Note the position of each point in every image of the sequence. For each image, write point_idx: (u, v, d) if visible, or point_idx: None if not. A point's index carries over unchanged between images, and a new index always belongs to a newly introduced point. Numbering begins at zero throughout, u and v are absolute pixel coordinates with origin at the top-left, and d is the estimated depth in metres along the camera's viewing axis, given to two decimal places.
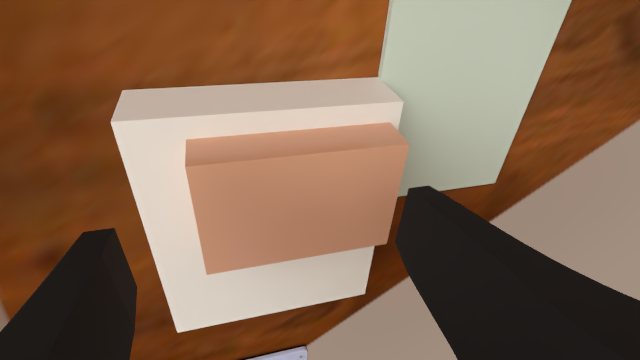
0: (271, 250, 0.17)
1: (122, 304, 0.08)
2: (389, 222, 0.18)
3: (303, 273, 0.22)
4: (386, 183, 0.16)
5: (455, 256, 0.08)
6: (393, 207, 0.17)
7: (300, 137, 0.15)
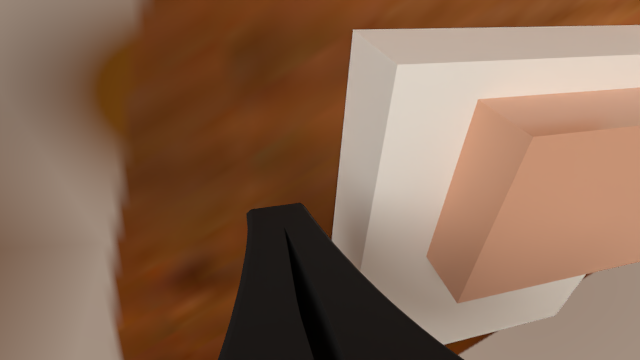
0: (546, 267, 0.12)
1: None
2: None
3: (509, 292, 0.16)
4: None
5: (300, 286, 0.07)
6: None
7: (635, 99, 0.10)
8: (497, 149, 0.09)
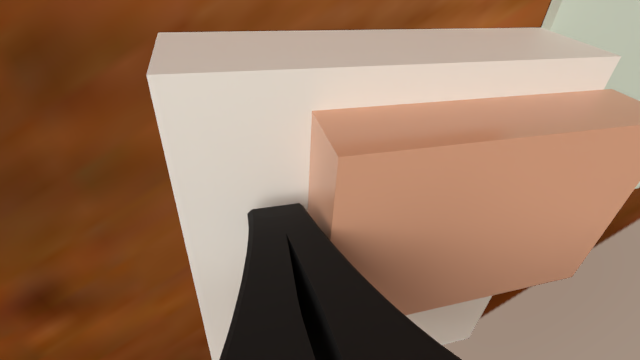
0: (422, 294, 0.11)
1: None
2: (590, 246, 0.12)
3: None
4: (618, 187, 0.10)
5: (299, 286, 0.07)
6: (607, 224, 0.11)
7: (499, 109, 0.09)
8: (324, 168, 0.08)
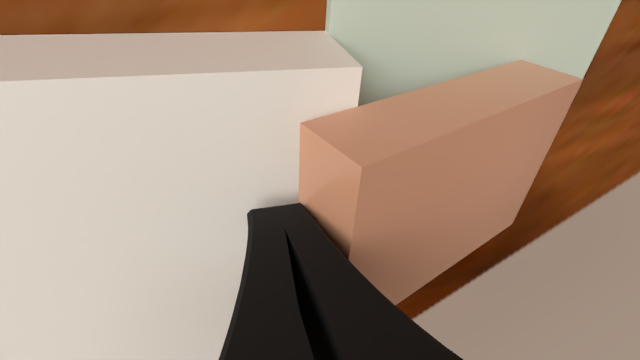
0: (416, 276, 0.11)
1: None
2: (524, 195, 0.14)
3: None
4: (544, 141, 0.12)
5: (300, 286, 0.07)
6: (535, 174, 0.13)
7: (458, 92, 0.10)
8: (332, 180, 0.08)
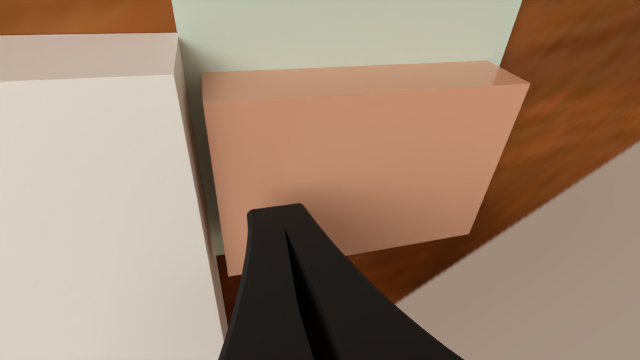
0: None
1: None
2: (478, 204, 0.13)
3: None
4: (486, 145, 0.11)
5: (300, 286, 0.07)
6: (488, 182, 0.12)
7: (370, 74, 0.10)
8: None
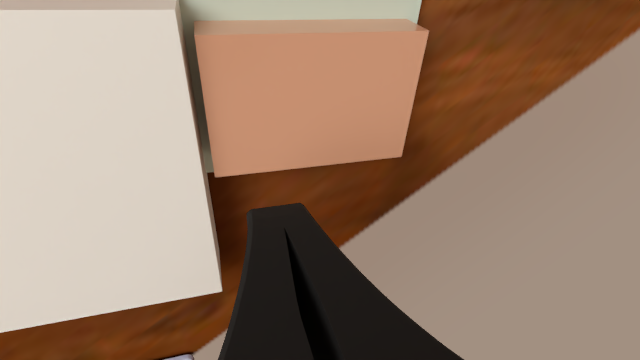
0: (282, 153, 0.16)
1: None
2: (405, 130, 0.17)
3: (115, 263, 0.17)
4: (403, 79, 0.16)
5: (300, 286, 0.07)
6: (409, 111, 0.17)
7: (314, 23, 0.15)
8: None
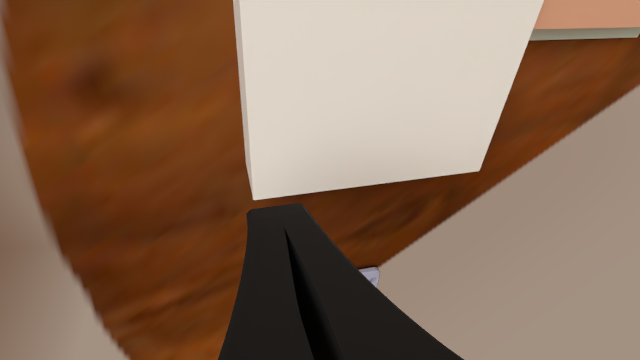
0: (594, 6, 0.16)
1: None
2: None
3: (420, 121, 0.16)
4: None
5: (300, 286, 0.07)
6: None
7: None
8: None
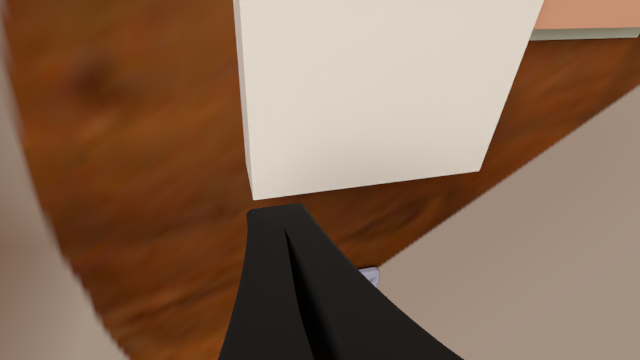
0: (594, 6, 0.16)
1: None
2: None
3: (420, 121, 0.16)
4: None
5: (300, 286, 0.07)
6: None
7: None
8: None
